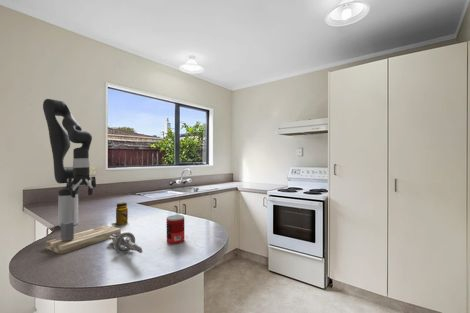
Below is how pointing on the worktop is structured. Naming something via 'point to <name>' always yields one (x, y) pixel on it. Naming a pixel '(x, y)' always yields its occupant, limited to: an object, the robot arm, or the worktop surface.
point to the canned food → (175, 229)
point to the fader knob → (67, 231)
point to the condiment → (121, 215)
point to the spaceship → (125, 242)
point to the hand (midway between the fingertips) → (82, 196)
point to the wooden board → (82, 239)
